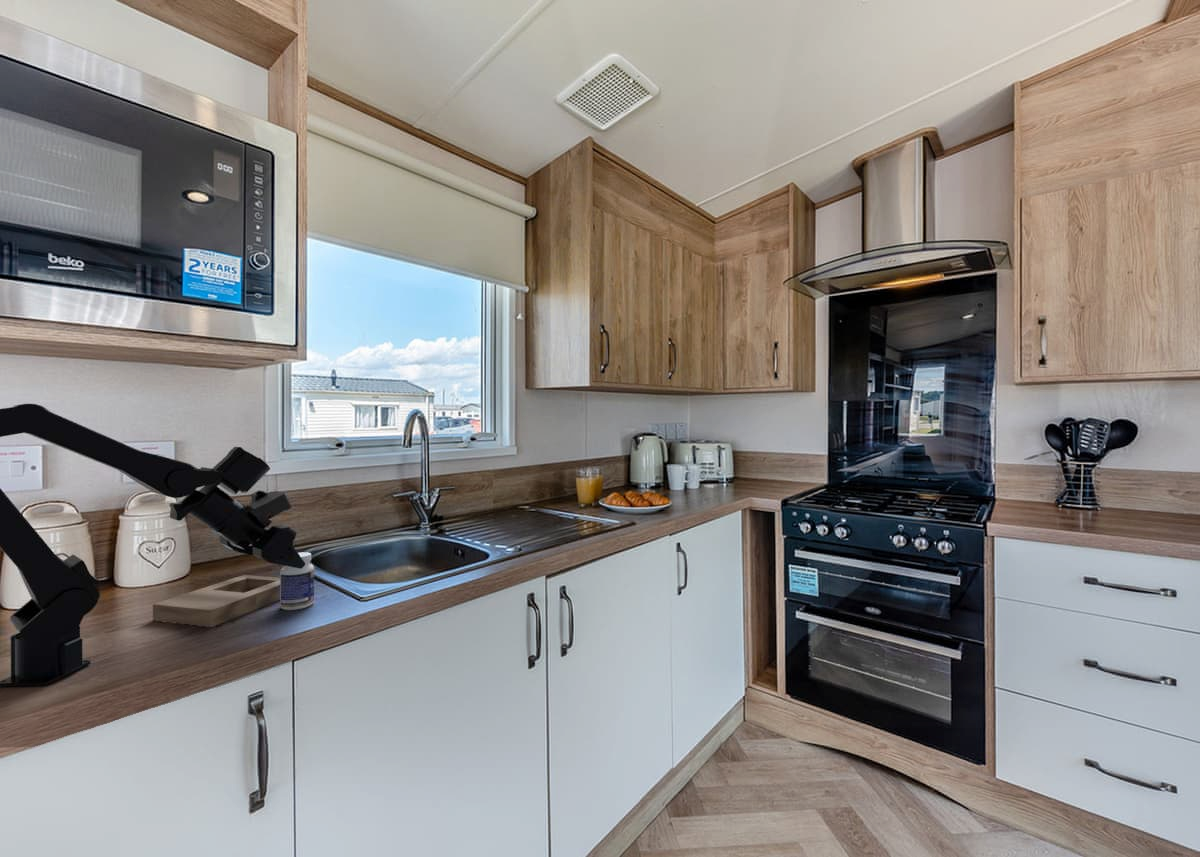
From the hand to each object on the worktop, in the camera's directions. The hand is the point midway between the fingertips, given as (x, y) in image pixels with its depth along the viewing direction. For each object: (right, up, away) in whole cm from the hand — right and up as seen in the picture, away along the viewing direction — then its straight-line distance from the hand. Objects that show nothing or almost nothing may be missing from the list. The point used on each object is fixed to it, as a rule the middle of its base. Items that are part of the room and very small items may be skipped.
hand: (291, 562), depth 97 cm
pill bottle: (+1, -9, +1) cm, 9 cm away
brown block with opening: (-12, -9, 0) cm, 15 cm away
